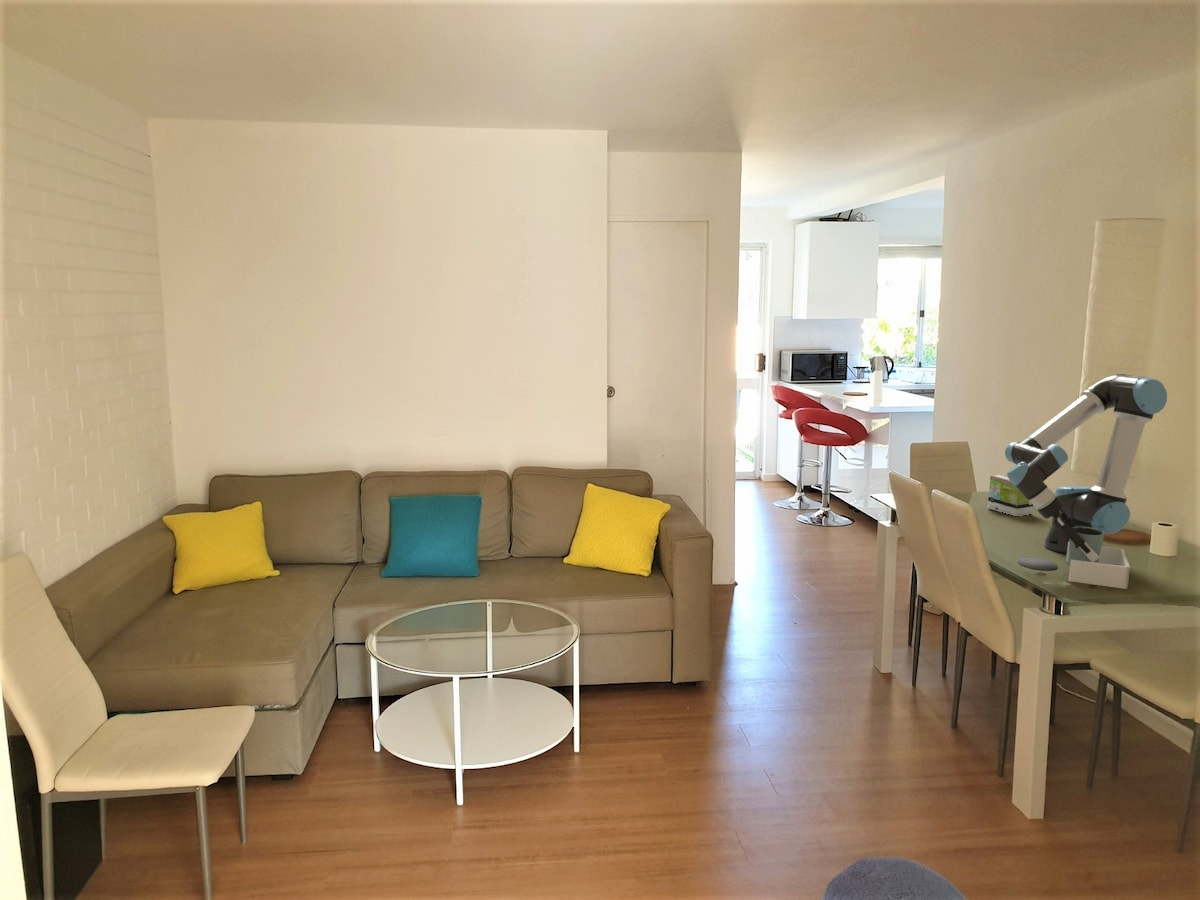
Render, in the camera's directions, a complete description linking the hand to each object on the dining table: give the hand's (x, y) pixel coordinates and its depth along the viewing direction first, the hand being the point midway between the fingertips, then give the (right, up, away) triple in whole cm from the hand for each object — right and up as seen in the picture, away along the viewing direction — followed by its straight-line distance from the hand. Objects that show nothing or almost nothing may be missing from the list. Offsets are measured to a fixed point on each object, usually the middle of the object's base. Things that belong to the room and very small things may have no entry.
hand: (1094, 555), depth 288 cm
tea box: (+10, +8, +81) cm, 82 cm away
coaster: (-13, -4, +11) cm, 18 cm away
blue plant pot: (-3, -4, +2) cm, 5 cm away
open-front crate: (+1, -6, +1) cm, 7 cm away
